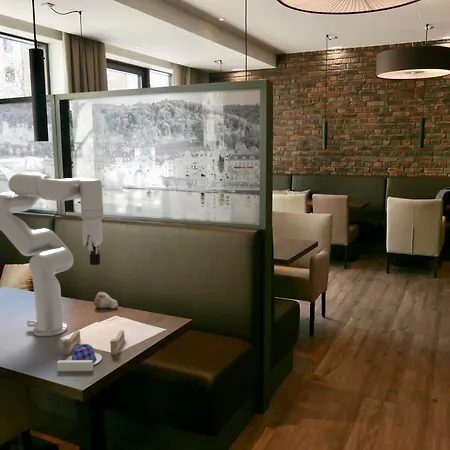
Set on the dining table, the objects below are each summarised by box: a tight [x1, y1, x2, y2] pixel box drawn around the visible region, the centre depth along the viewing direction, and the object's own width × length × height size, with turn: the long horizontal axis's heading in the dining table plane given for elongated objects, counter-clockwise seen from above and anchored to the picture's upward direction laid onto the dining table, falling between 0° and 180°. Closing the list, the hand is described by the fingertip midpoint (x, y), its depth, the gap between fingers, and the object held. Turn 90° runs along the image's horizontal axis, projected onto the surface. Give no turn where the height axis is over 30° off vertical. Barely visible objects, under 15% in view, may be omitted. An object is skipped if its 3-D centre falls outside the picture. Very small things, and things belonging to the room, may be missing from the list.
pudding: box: [65, 343, 103, 366], centre depth 162 cm, size 12×12×5 cm
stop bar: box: [56, 359, 94, 372], centre depth 155 cm, size 11×2×3 cm, turn 89°
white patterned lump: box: [93, 291, 119, 310], centre depth 215 cm, size 8×10×10 cm
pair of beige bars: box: [61, 330, 125, 356], centre depth 173 cm, size 18×14×5 cm
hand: (95, 264), depth 174 cm, fingers closed
